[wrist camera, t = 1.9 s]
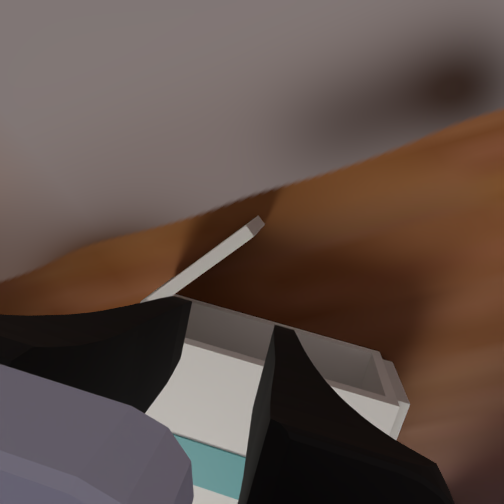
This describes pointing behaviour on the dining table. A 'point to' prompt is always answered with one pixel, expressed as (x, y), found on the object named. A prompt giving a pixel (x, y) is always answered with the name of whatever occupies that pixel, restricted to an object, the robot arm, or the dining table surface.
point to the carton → (245, 388)
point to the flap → (208, 260)
